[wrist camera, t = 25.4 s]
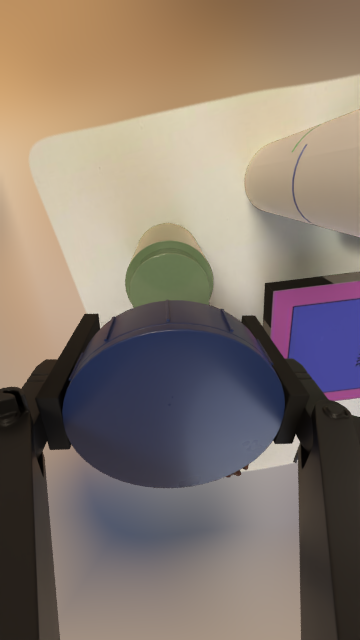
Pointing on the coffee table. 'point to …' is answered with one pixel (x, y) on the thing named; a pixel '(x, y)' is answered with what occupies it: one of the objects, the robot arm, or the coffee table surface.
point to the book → (319, 329)
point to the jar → (168, 268)
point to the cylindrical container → (311, 175)
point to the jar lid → (172, 396)
